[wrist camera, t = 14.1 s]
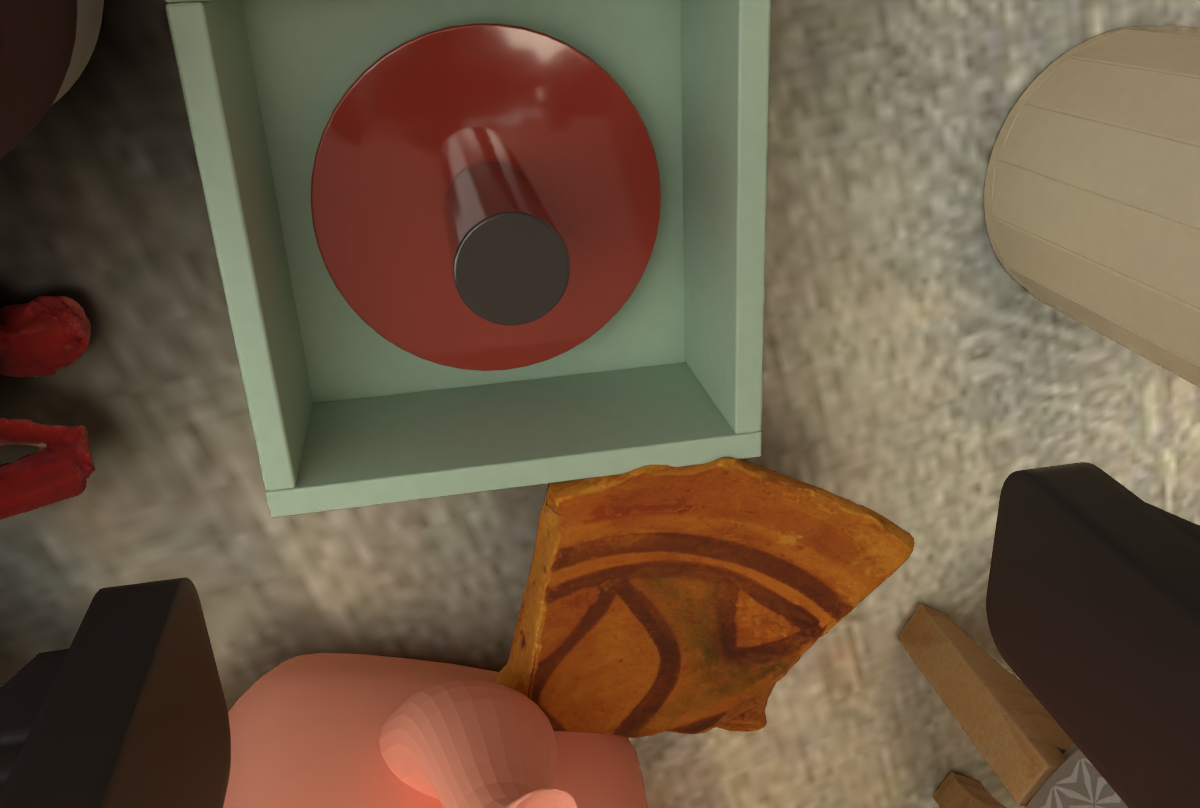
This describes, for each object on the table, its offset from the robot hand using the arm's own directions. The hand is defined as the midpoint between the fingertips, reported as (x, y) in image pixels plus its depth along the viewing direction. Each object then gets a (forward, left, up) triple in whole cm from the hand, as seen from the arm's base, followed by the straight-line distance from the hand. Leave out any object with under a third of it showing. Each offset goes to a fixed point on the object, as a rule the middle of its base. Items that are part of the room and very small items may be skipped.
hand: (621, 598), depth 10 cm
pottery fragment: (+10, +5, -16) cm, 19 cm away
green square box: (0, 0, -19) cm, 19 cm away
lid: (0, 0, -18) cm, 18 cm away
